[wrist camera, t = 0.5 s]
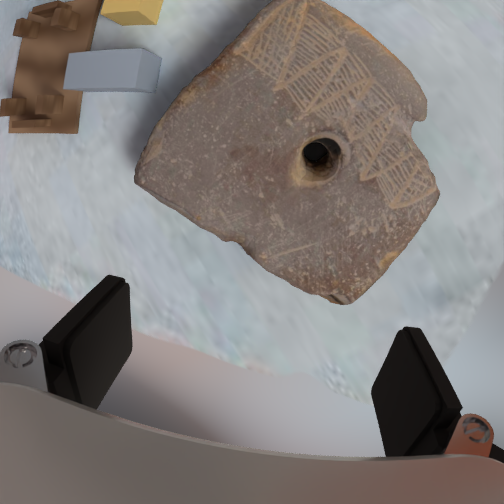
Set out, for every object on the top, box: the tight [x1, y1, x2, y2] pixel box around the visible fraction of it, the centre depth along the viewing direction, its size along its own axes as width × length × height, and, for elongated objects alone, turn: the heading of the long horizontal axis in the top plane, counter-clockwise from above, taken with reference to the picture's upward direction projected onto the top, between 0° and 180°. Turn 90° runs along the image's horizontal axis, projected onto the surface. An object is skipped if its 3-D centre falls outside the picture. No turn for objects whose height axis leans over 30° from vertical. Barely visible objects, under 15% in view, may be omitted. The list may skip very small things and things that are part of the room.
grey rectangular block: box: [63, 48, 162, 93], centre depth 31 cm, size 4×10×6 cm, turn 81°
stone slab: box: [134, 0, 440, 305], centre depth 33 cm, size 31×29×6 cm
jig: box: [0, 0, 102, 134], centre depth 31 cm, size 20×14×6 cm
